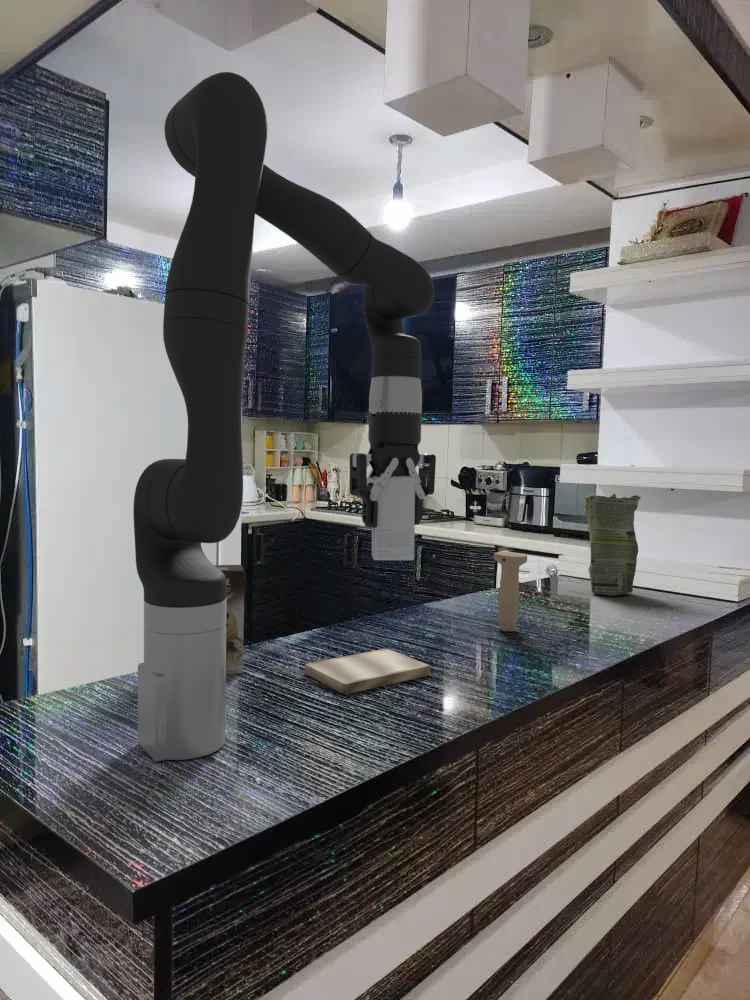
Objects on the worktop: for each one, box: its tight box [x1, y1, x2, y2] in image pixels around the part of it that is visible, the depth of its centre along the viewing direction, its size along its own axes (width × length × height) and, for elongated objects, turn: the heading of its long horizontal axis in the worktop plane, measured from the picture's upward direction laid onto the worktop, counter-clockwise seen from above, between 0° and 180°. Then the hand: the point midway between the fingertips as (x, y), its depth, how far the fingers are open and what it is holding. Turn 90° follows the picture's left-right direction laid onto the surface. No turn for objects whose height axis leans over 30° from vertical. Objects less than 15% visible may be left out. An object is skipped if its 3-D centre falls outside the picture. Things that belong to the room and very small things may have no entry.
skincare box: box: [371, 476, 416, 561], centre depth 102 cm, size 6×4×12 cm
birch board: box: [304, 647, 431, 695], centre depth 109 cm, size 16×11×2 cm
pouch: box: [584, 493, 641, 597], centre depth 177 cm, size 11×12×25 cm
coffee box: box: [213, 564, 246, 675], centre depth 110 cm, size 9×6×16 cm
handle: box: [493, 551, 528, 633], centre depth 138 cm, size 5×6×15 cm
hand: (392, 525), depth 102 cm, fingers closed on skincare box, 7 cm apart
